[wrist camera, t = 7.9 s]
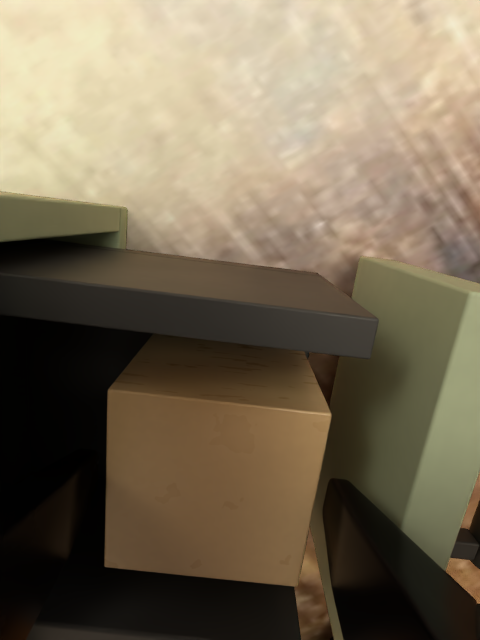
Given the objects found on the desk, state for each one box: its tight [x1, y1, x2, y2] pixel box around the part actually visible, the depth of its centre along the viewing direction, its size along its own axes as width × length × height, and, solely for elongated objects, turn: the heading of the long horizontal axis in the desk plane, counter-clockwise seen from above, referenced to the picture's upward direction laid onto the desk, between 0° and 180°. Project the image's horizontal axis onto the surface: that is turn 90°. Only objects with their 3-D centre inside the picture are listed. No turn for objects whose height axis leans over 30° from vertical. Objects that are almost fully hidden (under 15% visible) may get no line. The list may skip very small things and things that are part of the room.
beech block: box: [104, 334, 332, 587], centre depth 10 cm, size 5×5×5 cm
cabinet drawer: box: [0, 239, 480, 640], centre depth 11 cm, size 17×10×6 cm, turn 83°
